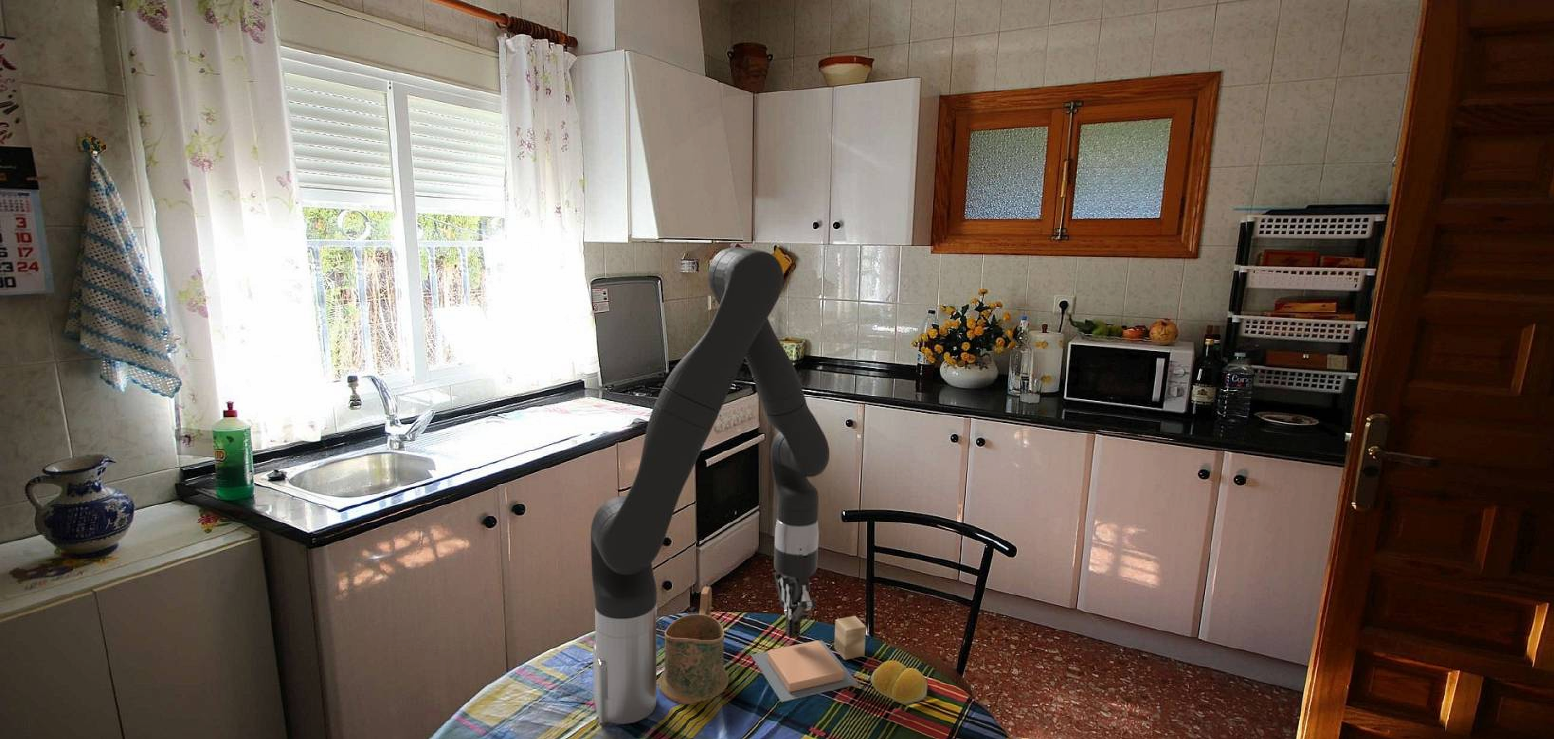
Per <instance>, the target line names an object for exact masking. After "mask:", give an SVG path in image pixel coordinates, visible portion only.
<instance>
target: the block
mask: <svg viewBox="0 0 1554 739" xmlns="http://www.w3.org/2000/svg"><path fill="white" fill-rule="evenodd" d="M834 624H835V625H834V643H833V644H834V645H833V648H834V649H835V651H836V652H837V653H838V655H840V657H841V658H842V659H843V660H844V661H847V660H850V659H855V658H860V657H864V656H865V649H866V632H867V626H866V625H865V624H864V623H863V622H862V621H861V620H860V619H859V617H857V616H856V615H851V616H847V617H842V618H837V619H835V621H834Z"/></svg>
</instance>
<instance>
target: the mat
mask: <svg viewBox="0 0 1554 739" xmlns="http://www.w3.org/2000/svg"><path fill="white" fill-rule="evenodd" d="M818 641H819V642H820V643H821V644H822V645H823V647H824V648H825V649H826V650H827V651H828V653H829V654H830V655H831V656H832V657H833V659H834V660H835V661H836V662H837V663H838V665H839V666H840V667H841V668H842V669H843V670H844V680H840V681H836V682H831V683H827V684H823V685H818V686H814V687H810V688H805V689H801V690H797V691H792V692H789V691H788V690H787V688H786V687H785V685H784V684H783V682H782V681H781V680H780V678H779V677H778V675H777V674H776V672H775V671H774V669H773V668H772V666H771V665H770V663H769V662H768V660H767V659H766V654H767V651H768V650H766V651H763V652H757V653H753V654H750V656H751V657H752V659H753V661H754V662H755V664H756V666H758V668H759V670H760V672H761V673H762V675H763V676H764V677H765V680H767V682H768V683H769V685H770V687H771V689H772V690H773V691H774V693H775V694H776V697H778V699H779V701H780V702H781V703H784V702H789V701H792V700H796V699H800V698H805V697H810V696H813V695H814V696H815V695H819V694H822V693H827V692H831V691H834V690H835V691H836V690H840V689H843V688H848V687H852V686H856V685H859V682H858V681H857V680H856V679H855V677H854V676H853V675H852V674H851V673H850V671H849V670H848V669H847V667H846V666H844V664H843V663H842V662H841V661H840V660H839V659H838V657H837V656H836V655H835V654H834V652H833V651H832V650H831V649H830V648H829V646H828V645H827V644H826V643H825V642H824V641H823V640H822V639H821V640H818Z"/></svg>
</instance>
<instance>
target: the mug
mask: <svg viewBox="0 0 1554 739" xmlns="http://www.w3.org/2000/svg"><path fill="white" fill-rule="evenodd" d="M712 592H713V590H712V587H711V586H703V588H702V590H701V593H700V604H699V605H700V606H699V613H691V614H687V615H684V616H681V617H679V618H677V619H675V620H674V621H673V622H671V623H670V624H669V625H668V627H667V628H666V629H665V631H664V670H663V671H662V673H661V674H660V676H659V678H658V687H659V688H658V689H659V691H660V693H661V694H662V695H663V696H664V697H665V698H666V699H668V700H671V701H673V702H674V703H679V704H683V705H696V704H695V703H698V702H704V701H708V700H710V699H713V698H716V697H717V696H720V694H722V693H723V692H724V691H725V690H726V688H727V687H728V684H729V680H730V679H729V678H730V677H729V673H728V672H727V670H726V669H724V648H725V647H724V646H725V644H724V643H725V642H724V641H725V640H724V638H725V631H724V627H723V625H722V624H721V622H720V621H719V620H718V619H716V618H715V617H713V616H711V614H712V597H713V596H712V595H713V594H712Z"/></svg>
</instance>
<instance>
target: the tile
mask: <svg viewBox="0 0 1554 739" xmlns="http://www.w3.org/2000/svg"><path fill="white" fill-rule="evenodd" d="M819 641H820V640H814V641H813V640H812V641H808V642H803V643H799V644H794V645H789V646H784V647H779V648H774V649H770V650H766V651H767V654H766V659H767V660H768V662H769V663H770V665H771V666H772V668H773V669H774V671H775V672H776V674H777V675H778V677H779V678H780V680H781V681H782V682H783V684H784V685H785V687H786V688H787V690H788V691H789V692H792V691H797V690H801V689H805V688H810V687H814V686H818V685H823V684H827V683H831V682H836V681H840V680H844V670H843V669H842V668H841V667H840V666H839V665H838V663H837V662H836V661H835V660H834V659H833V657H832V656H831V655H830V654H829V653H828V651H827V650H826V649H825V648H824V647H823V645H822V644H821V643H820V642H819Z"/></svg>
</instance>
